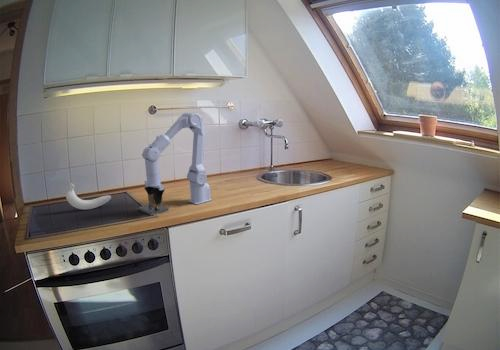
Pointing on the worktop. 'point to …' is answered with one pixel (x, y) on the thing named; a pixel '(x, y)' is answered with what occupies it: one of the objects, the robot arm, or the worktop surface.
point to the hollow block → (153, 201)
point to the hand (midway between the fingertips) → (155, 202)
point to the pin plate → (153, 209)
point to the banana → (85, 204)
